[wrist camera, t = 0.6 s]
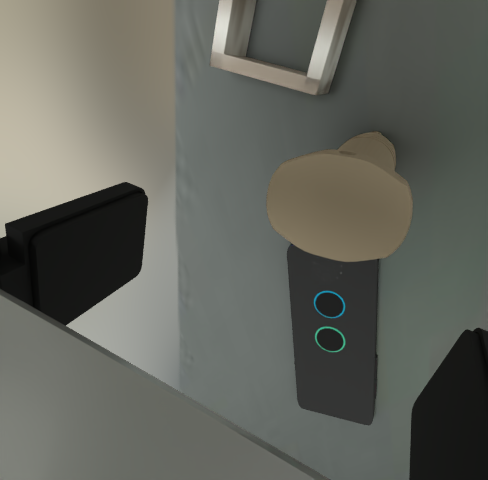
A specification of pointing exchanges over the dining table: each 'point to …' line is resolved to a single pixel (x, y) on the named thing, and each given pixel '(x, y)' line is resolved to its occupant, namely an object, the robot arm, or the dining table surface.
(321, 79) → the wooden wall shelf
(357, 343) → the smart home device
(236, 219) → the dining table surface
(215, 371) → the dining table surface
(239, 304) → the dining table surface
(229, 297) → the dining table surface
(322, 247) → the handle
